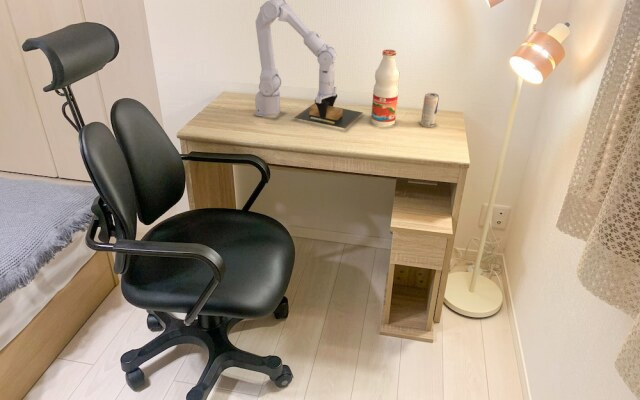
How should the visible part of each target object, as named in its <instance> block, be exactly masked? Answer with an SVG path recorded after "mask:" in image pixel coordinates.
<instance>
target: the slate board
mask: <svg viewBox="0 0 640 400" xmlns="http://www.w3.org/2000/svg"><path fill="white" fill-rule="evenodd" d="M312 105H313V104H311V105H310V106H312ZM363 113H364V112H363V111H358V110H353V109H347V108H343V112H342V119H341V120H340V121H338V122H337V123H336V122H335V123H334V124H333V123H329V122H325V121H321V120H316V119H311V118H310V117H309V107H307V108H306V109H304V110H302V111H301V112H300V113H299V114H297V115H296V116H295V117H294V119H297V120H302V121H307V122H312V123H318V124H322V125H326V126H331V127H337V128H341V129H347V128H348V127H349V126H350V125H351V124H352V123H354V121H356V120H357V119H358V118H359V117H360V116H361V115H363Z"/></svg>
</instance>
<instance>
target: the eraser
mask: <svg viewBox="0 0 640 400" xmlns="http://www.w3.org/2000/svg"><path fill="white" fill-rule="evenodd" d="M311 105H312V106H311ZM311 105H310V106H309V107H308V108H309V117H315V118H320V119H324V120H328V121H332V122H336V123H337V122H338V121H340V120H341V119H342V112H343V109H344V108H343V107H339V106H334V105H333V106H328V107H327V113H326V117H325V118H322V117H320V114H319V110H318V107H317V105H316V104H315V102H313V104H311Z"/></svg>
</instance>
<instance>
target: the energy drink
mask: <svg viewBox="0 0 640 400" xmlns="http://www.w3.org/2000/svg"><path fill="white" fill-rule="evenodd" d="M439 100H440V97H439V94H437V93H435V92H427V93H425V94H424V97H423V104H422V111H421V112H422V113H421V119H420V124H421V126H423V127H425V128H433V127H435V125H436V120H437V114H438V113H437V112H438V107H439Z"/></svg>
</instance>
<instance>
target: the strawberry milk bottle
mask: <svg viewBox="0 0 640 400" xmlns="http://www.w3.org/2000/svg"><path fill="white" fill-rule="evenodd" d="M396 56H397V51H396V50H394V49H383V50H382V58H381V60H380V63H379V65H378V67H377V69H376V70H375V73H374V79H375V80H374V81H375V83H374V86H373V90H372V103H371V104H372V105H371V117H370V119H371V120H370V121H371V122H372V123H373V124H375V125H378V126H391V125H393V124H395V123H396V120H397V119H396V117H397V108H398V107H397V106H398V100H399V99H398V98H399V84H398V83H399V80H400V71H399V68H398V66H397V60H396Z"/></svg>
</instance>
